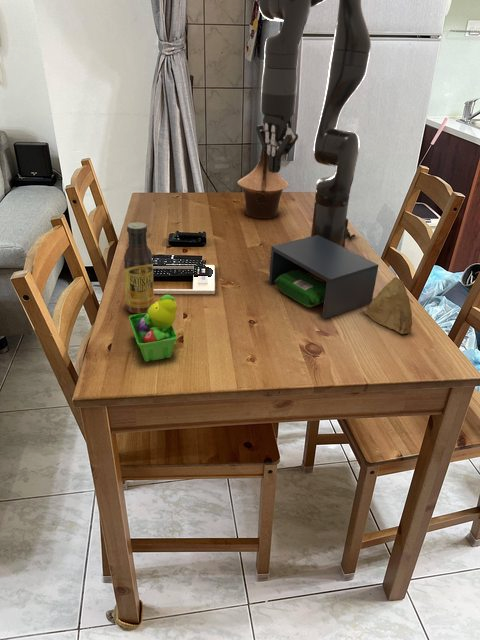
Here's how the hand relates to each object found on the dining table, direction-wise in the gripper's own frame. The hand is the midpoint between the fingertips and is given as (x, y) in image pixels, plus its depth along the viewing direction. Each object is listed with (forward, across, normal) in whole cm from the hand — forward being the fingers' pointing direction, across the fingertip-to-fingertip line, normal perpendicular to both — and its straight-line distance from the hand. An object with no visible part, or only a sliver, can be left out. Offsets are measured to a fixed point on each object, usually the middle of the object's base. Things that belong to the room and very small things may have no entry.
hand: (273, 171), depth 119 cm
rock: (+27, -33, -9) cm, 44 cm away
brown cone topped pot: (+27, +40, -27) cm, 55 cm away
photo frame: (+27, +9, +21) cm, 35 cm away
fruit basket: (+27, -15, +39) cm, 50 cm away
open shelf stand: (+27, -14, -5) cm, 31 cm away
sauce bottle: (+27, +1, +35) cm, 44 cm away
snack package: (+27, -14, 0) cm, 31 cm away
